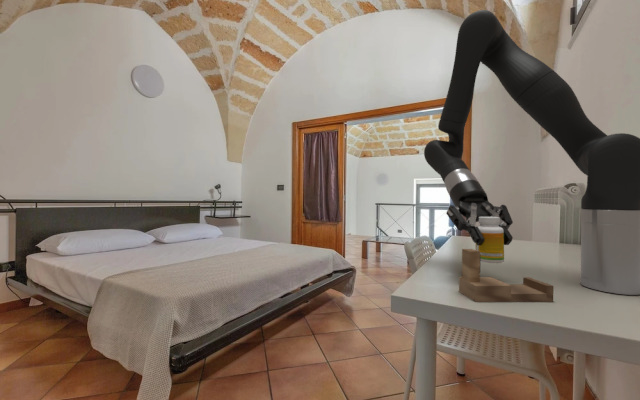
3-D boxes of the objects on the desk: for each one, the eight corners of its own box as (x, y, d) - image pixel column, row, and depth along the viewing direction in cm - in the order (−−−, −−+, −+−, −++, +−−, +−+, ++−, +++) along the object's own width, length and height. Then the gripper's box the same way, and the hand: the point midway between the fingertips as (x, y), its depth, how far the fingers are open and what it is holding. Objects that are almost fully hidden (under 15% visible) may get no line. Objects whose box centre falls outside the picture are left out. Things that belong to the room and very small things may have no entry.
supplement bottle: (510, 263, 59) (509, 217, 59) (484, 263, 59) (483, 217, 59) (494, 258, 64) (494, 216, 64) (471, 258, 64) (470, 216, 64)
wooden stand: (529, 291, 58) (529, 248, 58) (553, 301, 52) (553, 254, 52) (459, 291, 58) (459, 248, 58) (475, 301, 52) (475, 253, 52)
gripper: (441, 179, 69) (468, 232, 57) (498, 178, 69) (537, 231, 57) (432, 200, 74) (455, 253, 62) (485, 199, 74) (519, 252, 62)
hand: (494, 242), depth 60 cm, fingers closed on supplement bottle, 5 cm apart
